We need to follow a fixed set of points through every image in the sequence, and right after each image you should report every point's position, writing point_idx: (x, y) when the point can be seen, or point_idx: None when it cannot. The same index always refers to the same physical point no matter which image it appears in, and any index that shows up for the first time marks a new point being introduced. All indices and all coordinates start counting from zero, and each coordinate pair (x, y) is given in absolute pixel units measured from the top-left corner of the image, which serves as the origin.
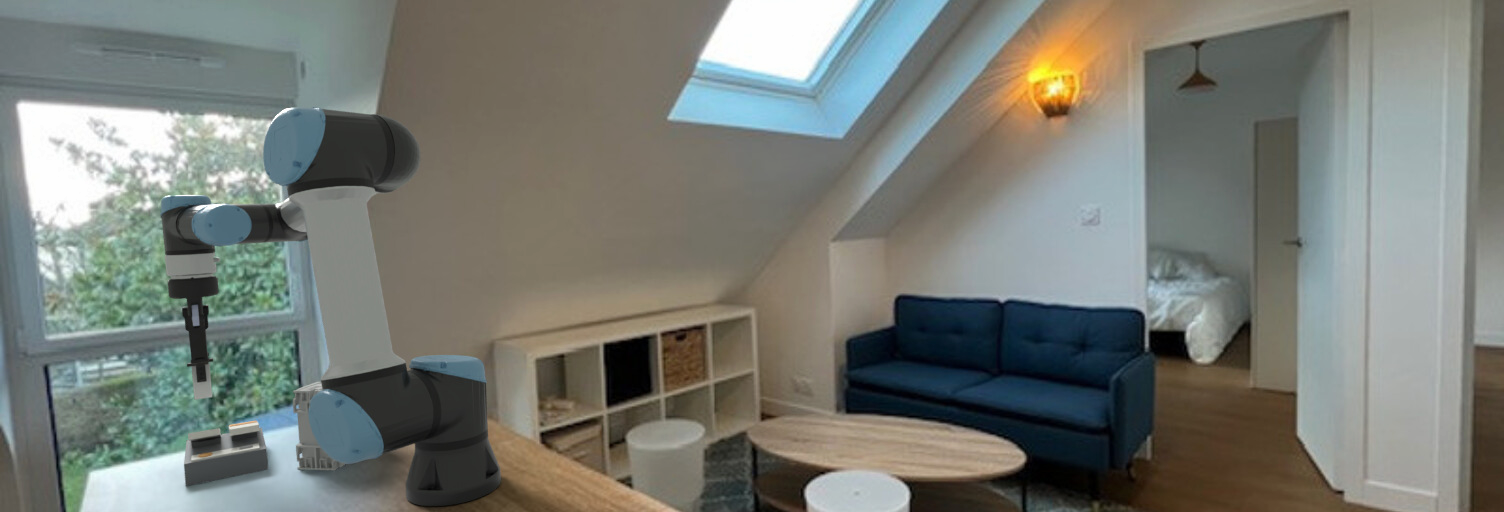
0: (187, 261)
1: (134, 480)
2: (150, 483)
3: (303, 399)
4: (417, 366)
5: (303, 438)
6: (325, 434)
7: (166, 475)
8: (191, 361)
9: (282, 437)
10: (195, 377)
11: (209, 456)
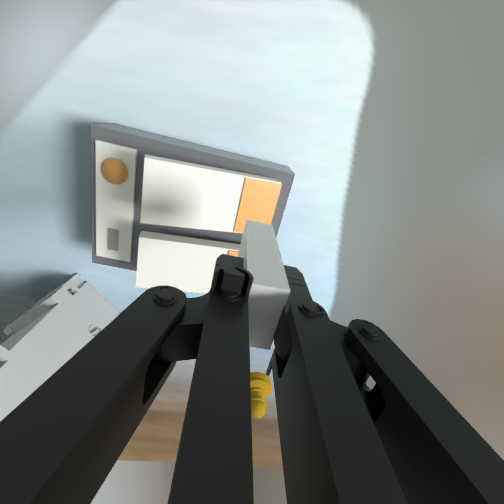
0: None
1: (239, 54)
2: (188, 75)
3: None
4: None
5: (45, 314)
6: None
7: (220, 112)
8: (155, 295)
9: None
10: (244, 262)
11: (99, 175)
